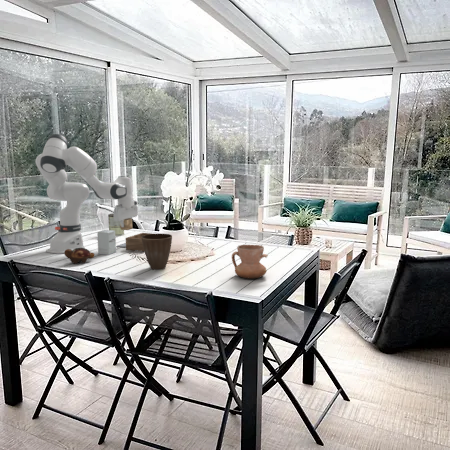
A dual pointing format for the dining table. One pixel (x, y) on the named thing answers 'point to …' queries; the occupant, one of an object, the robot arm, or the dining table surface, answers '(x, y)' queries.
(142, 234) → the walnut caddy
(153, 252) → the plant pot
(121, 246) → the rubber coaster
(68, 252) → the decorative turtle
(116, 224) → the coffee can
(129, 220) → the oak block
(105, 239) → the supplement box
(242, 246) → the ceramic jug
